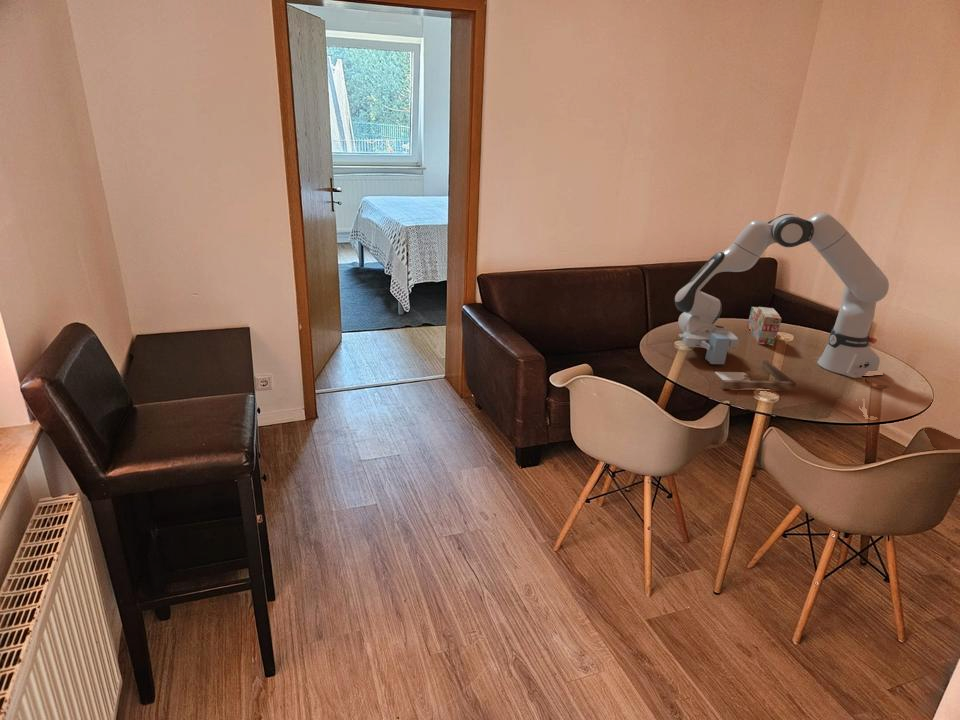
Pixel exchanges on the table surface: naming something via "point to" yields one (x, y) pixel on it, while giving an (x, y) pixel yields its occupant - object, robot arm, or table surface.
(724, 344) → the slate-blue block
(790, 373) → the table surface
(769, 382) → the walnut fence
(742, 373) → the felt pad
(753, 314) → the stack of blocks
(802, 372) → the table surface
